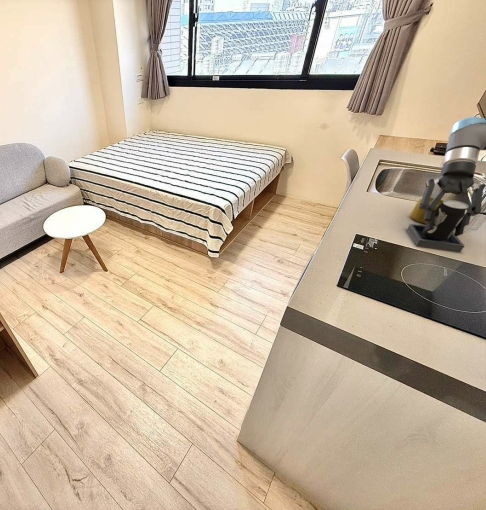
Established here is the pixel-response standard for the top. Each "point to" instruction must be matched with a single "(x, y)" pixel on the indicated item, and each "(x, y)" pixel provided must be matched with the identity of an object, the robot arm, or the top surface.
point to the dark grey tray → (422, 241)
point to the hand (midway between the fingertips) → (443, 232)
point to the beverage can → (446, 219)
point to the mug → (422, 211)
